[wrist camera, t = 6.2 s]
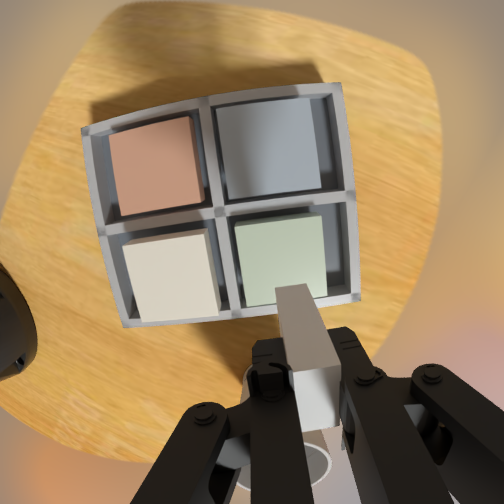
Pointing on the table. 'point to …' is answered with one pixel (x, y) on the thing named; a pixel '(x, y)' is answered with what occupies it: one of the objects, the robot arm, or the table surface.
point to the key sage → (281, 255)
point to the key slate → (268, 147)
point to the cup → (314, 449)
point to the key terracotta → (157, 166)
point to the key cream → (173, 276)
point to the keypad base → (230, 211)
